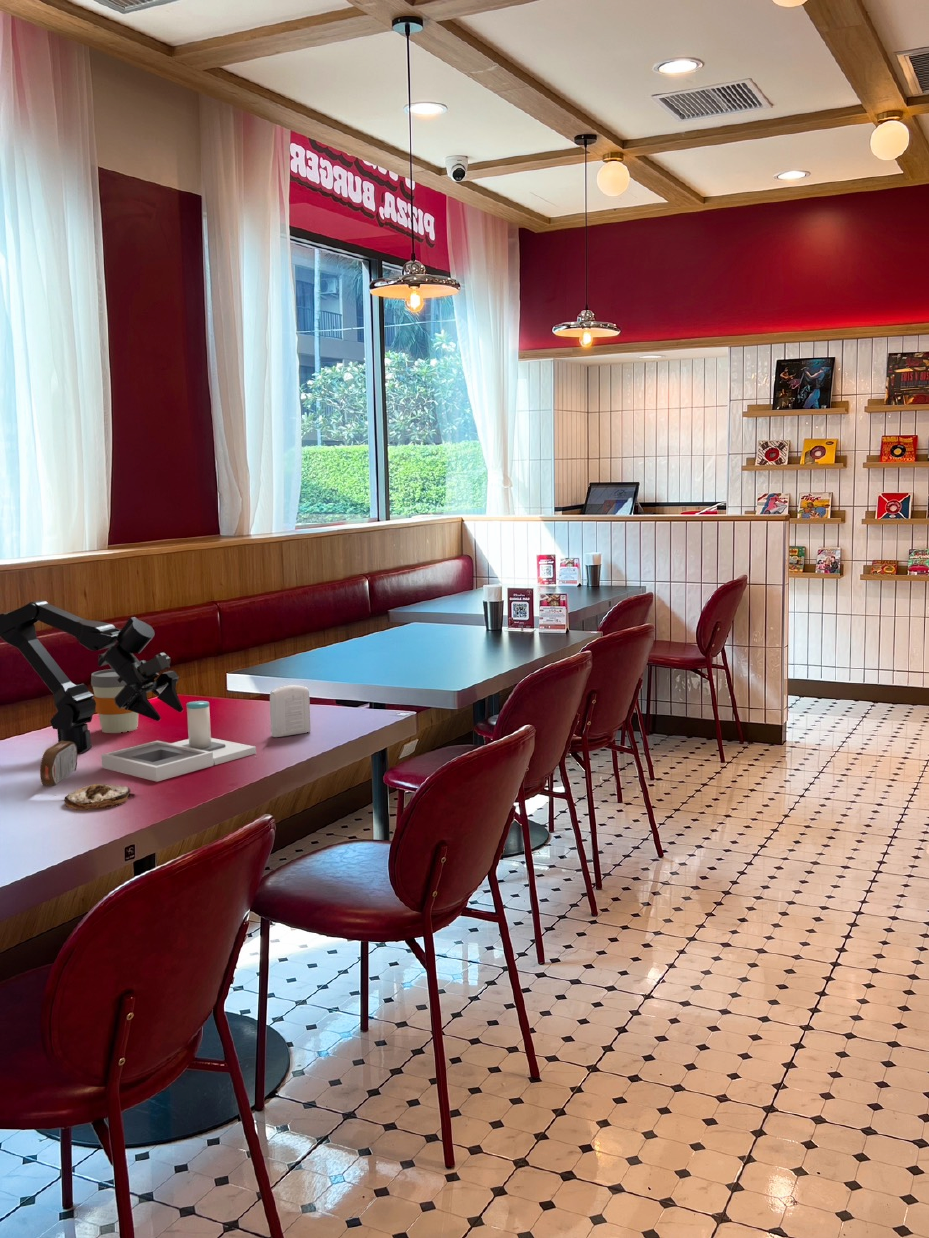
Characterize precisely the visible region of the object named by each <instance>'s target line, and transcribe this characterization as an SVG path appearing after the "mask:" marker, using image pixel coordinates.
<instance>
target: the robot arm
mask: <svg viewBox="0 0 929 1238" xmlns="http://www.w3.org/2000/svg"><path fill="white" fill-rule="evenodd" d="M38 622H41V623H43V624H46V625H48V626H50V627H53V628H55V629H57V630H58V631H59V630H60V631H61V632H64V633H67V634H69V635H71V636H72V637H74V638H76V640H77V641H78V643H79V644H80V645H81V646H83V647H85V648H86V649H87V650H90V651H92V652H97V651H101V650H104V649H107V650H106V651H105V652H104V653H101V654H98V661H97V666H98V667H104V666H107V665H108V666H109V667H110V669H113V670H114V671H115V672H116V673H117V675H118V676H119V679H118V681H119V682H120V683H122V682H125V683H126V685H125V686H124V687H123V689H122V690H121V691H120V692H119V693H118V695H117V696H116V697H115V704H116V705H117V706H118V707H119V708H120V709H122V708H125V710H130V711H133V712H136V713H138V715H142V716H144V717H146V718H149V719H151V720H154V721H156V722H160V721H161V720H162V717H161V716H160V713H159V712H158V711H157V709H156V708H155V707H154V705H153V704H152V703H151V702H150V701H149V699H148V694H147V693H150V692H152V693H153V694H154V695H156V696H157V699H158V700H160V701H161V702H163V704H166V705H167V706H168V707H170V708H172V709H173V710H175V711H176V712H178V713H182V712H183V711H184V707H183V705H182V702H181V700H180V698H179V696H178V693H177V690H176V687H177V684H178V682H179V681H178V680H179V678H180V676H179V675H178V674H177V672H176V671H174V670H168V671H165V672H163V673H162V671H163V670H167V669H169V668H171V666H170V665H171V657H169V655H168V654H166V653H165V652H160V653H158V654H156V655H154V658H152V659H149V660H148V661H146V660H144V659H143V660H139V659H138V658H137V656H135V655H136V654H140V653H142V651H143V650H144V649H145V648H146V646H147V645H148V644H149V643H150V641H152V640H153V638H154V637H155V630H154V629H153V627H152V626H151V625H150V624H148V623H146V622H144V621H142V620H140V619H138V618H137V617H135V616H134V617H133V616H132V617H130V618H128V619H127V621H126V623H125V624H124V626H123V627H122V628H121V629H120V628H116V626H115V625H114V624H112V623H108V622H105V621H99V620H90V619H89V620H88V619H85V618H82V617H79V616H77V615H76V614H73V613H71V612H69V611H66V610H64V609H62V608H59V607H58V606H57V607H56V606H54V605H52V604H50V603H49V602H47V601H46V600H42V599H41V600H36V601H30V602H28V603H27V604H25V605H24V606H22V607H19V608H17V609H14V610H12V611H8V612H4V613H0V639H1V640H2V641H4V642H5V643H6V644H8V645H10V646H12V647H14V648H16V649H18V650H19V651H20V653H21V654H22V655H23V657H24V658H25V659H26V661H27V662H28V663H29V665H30V666H31V667H32V669H33V670H34V671H35V672H36V673H37V675H38V676H39V678H41V680H42V681H43V683H44V684H45V686H47V688H48V689H49V691H51V693H52V694H53V700H54V707H55V709H56V710H57V711H56V712H55V714H54V715H53V717H51V719H50V721H49V722H50V725H51V727H52V729H53V730H57V743H58V742H60V741H71V742H74V743H75V744H76V746H77V754H82V753H83V754H84V753H85V752H86V751H88V750H89V749H91V748H92V747H93V744H92V742H91V740H92V739H91V730H89V727H88V723H91V722H92V719H93V715H94V714H95V713H96V702H95V700H94V698H93V697H94V694H93V693H92V692H91V691H90V690H89V688H88V686H87V685H86V684H85V683H81V684H75V683H73V682H72V681H71V680H70V678H69V677H68V676H67V675H66V674H65V672H64V671H63V670H62V669H61V667H60V666H59V664H58V663H57V662H56V661H55V659H54V658H53V657H52V656H51V654H50V653H49V651H47V649H46V647H45V646H44V645H43V644H42V642H41V641H40V640H39V639H38V637H37V630H36V629H37V628H36V625H35V624H37V623H38ZM134 654H135V655H134ZM160 672H161V674H159V673H160Z"/></svg>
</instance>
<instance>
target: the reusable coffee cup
mask: <svg viewBox="0 0 929 1238" xmlns="http://www.w3.org/2000/svg"><path fill="white" fill-rule="evenodd" d="M90 678H91V679H90V685H91V687H92V689H93V690H92V691H93V693H94V694H93V695H94V697H93V698H94V700H95V702H96V709H95V713H97V714H98V717H99V718H98V719H99V722H100V727H101V729H100V730H101V732H102V733H105V734H106V733H107V734H120V733H121V732H123V733H128V732H127V731H129V732H132V731H135V730H137V729H138V728H139V726H138V725H139V714H138V713H136V712H133V711H130V710H125V708H122V709H120V708H119V707H118V706H117V705H116V704H115V697H116V696H117V695H118V693H119V692H120V691H121V690H122V689H123V687H124V686H125V685H126V683H125V682H122V683H120V682H119V681H118V679H119V676H118V675H117V673H116V672H115V671H114V670H113V669H112V668H110V669H109V668H108V669H103V670H98V671H94V672H92V673H91V677H90ZM137 727H138V728H137Z"/></svg>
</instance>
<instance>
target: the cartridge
mask: <svg viewBox="0 0 929 1238" xmlns="http://www.w3.org/2000/svg"><path fill="white" fill-rule="evenodd" d="M186 712H187V713H186V714H187V715H186V716H187V732H188V733H187V734H188V739H189V747H190V748H206V747H209V746H211V738H212V734H211V733H212V732H211V716H210V715H211V714H210V702H209V701H205V700H198V701H197V700H195V701H189V702H187V703H186Z"/></svg>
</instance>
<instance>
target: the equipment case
mask: <svg viewBox="0 0 929 1238" xmlns="http://www.w3.org/2000/svg"><path fill="white" fill-rule="evenodd" d="M100 755H101V758H100V759H101V768H102V769H105V770H109V771H112V772H113V771H114V772H118V773H122V774H124V775H125V774H126V775H128V776H133V777H136V778H141V779H146V780H149V781H152V782H153V781H154V782H158V783H159V782H161V781H163V780H167V779H171V778H175V777H179V776H182V775H186V774H190V773H192V772H195V771H199V770H203V769H206V768H209V767H210V768H211V767H213V766H217V765H220V764H223V763H228V762H232V761H234V760H237V759H241V758H246V757H248V756H252V755H254V757H253V759H255V758H257V747H256V746H255V745H249V744H243V743H239V742H234V741H230V740H223V739H220V738H219V739H218V738H213V737H211V746H209V747H206V748H190V747H189V738H187V739H183V740H178V741H175V742H167V741H162V740H154V741H151V742H149V741H148V742H146V743H142V744H139V745H137V744H136V745H134V746H131V747H126V748H121V749H117V750H113V751H110V752H106V753H102V754H100Z"/></svg>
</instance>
